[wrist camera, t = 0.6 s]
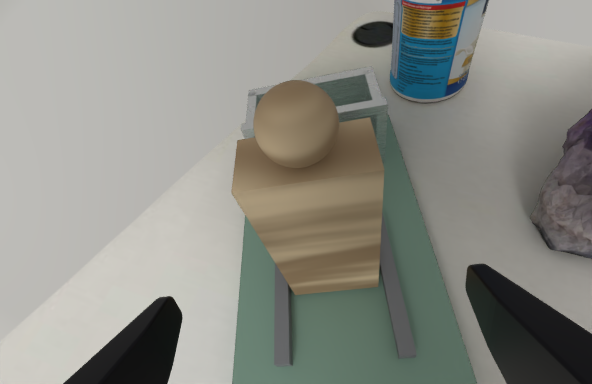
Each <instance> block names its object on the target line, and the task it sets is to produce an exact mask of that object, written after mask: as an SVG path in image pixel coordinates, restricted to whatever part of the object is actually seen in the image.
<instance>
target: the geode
mask: <svg viewBox="0 0 592 384" xmlns="http://www.w3.org/2000/svg"><path fill="white" fill-rule="evenodd" d="M562 147H563V149H564V156H563V157H562V158H561V159H560V161H559V164H558V166H557V167H556V168H555V169H554V170H553V171H552V172H551V174H550V175H549V176H548V178H547V180H546V182H545V184H544V185H543V187H542V189H541V192H540V195H539V200H538V203H537V206H536V208H535V210H534V211H533V213H532V215H531V216H530V219H531V221H532V223H533V224H534V225H536V226H537V227H538V228H539V229H540V232H541V234H542V237H543V239H544V240H545V242H546V244H547V246H548V247H549V248H550V249H551V250H557V251H563V252H568V253H572V254H575V255H579V256H583V257H587V258H592V109H591V110H590V111H589V113H588V114H587V115H585V116H584V117H583V118H582V119H580V120H579V121H578V122H577V123H576V124H575V125H573V126H572V127H571V128H570V129H568V132H567V139H566V141H565V143H564V145H563V146H562Z"/></svg>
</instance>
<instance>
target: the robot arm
mask: <svg viewBox="0 0 592 384" xmlns="http://www.w3.org/2000/svg"><path fill="white" fill-rule="evenodd" d="M466 292H467V295H468V297H469V300H470V303H471V305H472V308H473V310H474V313H475V315H476V318H477V320H478V323H479V326H480V328H481V331H482V333H483V336H484V338H485V341H486V343H487V345H488V348H489V350H490V352H491V354H492V356H493V358H494V360H495V362H496V364H497V365H498V367H499V369H500V371H501V373H502V375H503V377H504V379H505V381H506V383H507V384H592V334H591V333H590V332H588V331H587V330H585V329H584V328H582V327H581V326H579V325H577V324H576V323H574V322H573V321H571V320H570V319H568V318H567V317H565V316H564V315H562V314H561V313H559V312H558V311H556V310H555V309H553V308H552V307H550V306H549V305H547V304H545V303H544V302H542V301H541V300H539V299H538V298H536V297H535V296H533V295H532V294H530V293H529V292H527V291H526V290H524V289H523V288H521V287H520V286H518V285H517V284H515V283H514V282H512V281H510V280H509V279H507V278H506V277H504V276H503V275H501V274H500V273H498V272H497V271H495V270H494V269H492V268H491V267H489V266H488V265H486V264H474V265H469V266H468V269H467V276H466ZM181 323H182V312H181V310H180V309H179V307H178V305H177V303H176V302H175V300H174V298H173V297H171V296H167V297H160V298H158V299H156V300H155V301H154V302H153V303H152V304H151V305H150V306H149V307H147V308H146V309H145V310H144V311H143V312H142V313H141V314H140V315H139V316H138V317H136V318H135V319H134V320H133V321H132V322H131V323H130V324H129V325H128V326H126V327H125V328H124V329H123V330H122V331H121V332H120V333H119V334H118V335H117V336H115V337H114V338H113V339H112V340H111V341H110V342H109V343H108V344H107V345H105V346H104V347H103V348H102V349H101V350H100V351H99V352H98V353H97V354H96V355H94V356H93V357H92V358H91V359H90V360H89V361H88V362H87V363H86V364H84V365H83V366H82V367H81V368H80V369H79V370H78V371H77V372H76V373H74V374H73V375H72V376H71V377H70V378H69V379H68V380H67V381H66V382H65V383H63V384H167V383H168V380H169V377H170V373H171V370H172V366H173V362H174V357H175V352H176V347H177V343H178V338H179V333H180V328H181Z"/></svg>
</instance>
